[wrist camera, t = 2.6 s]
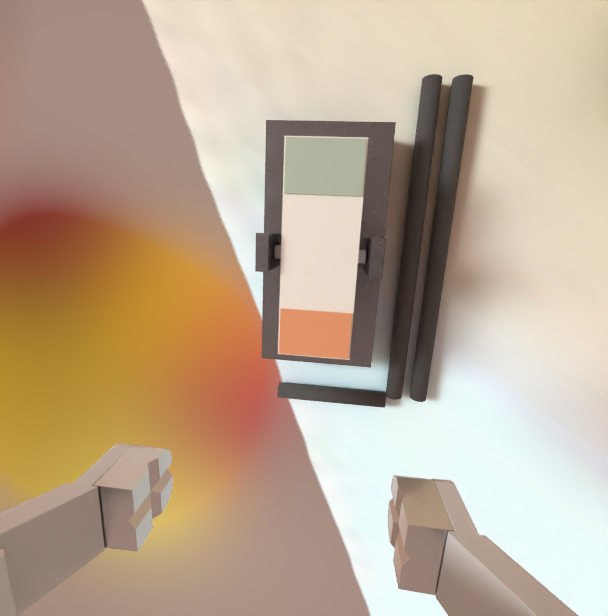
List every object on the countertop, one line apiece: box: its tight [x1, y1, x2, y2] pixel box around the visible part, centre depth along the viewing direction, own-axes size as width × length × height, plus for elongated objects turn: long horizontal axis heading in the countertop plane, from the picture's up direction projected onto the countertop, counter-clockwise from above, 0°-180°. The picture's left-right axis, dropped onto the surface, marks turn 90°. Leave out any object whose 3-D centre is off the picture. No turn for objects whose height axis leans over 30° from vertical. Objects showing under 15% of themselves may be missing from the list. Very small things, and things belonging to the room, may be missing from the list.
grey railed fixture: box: [278, 74, 473, 407], centre depth 27 cm, size 14×27×1 cm, turn 177°
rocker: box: [274, 136, 368, 360], centre depth 21 cm, size 14×6×2 cm, turn 177°
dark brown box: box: [256, 120, 396, 367], centre depth 24 cm, size 18×9×8 cm, turn 177°
